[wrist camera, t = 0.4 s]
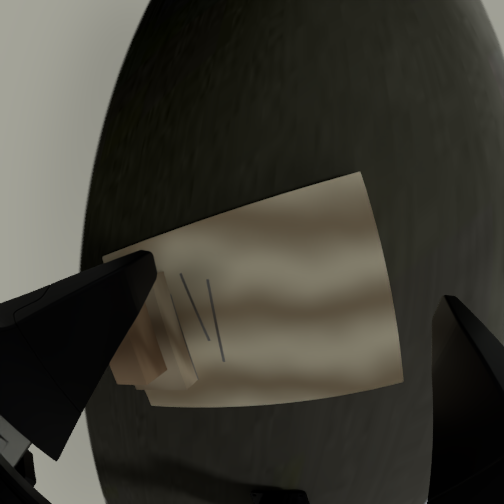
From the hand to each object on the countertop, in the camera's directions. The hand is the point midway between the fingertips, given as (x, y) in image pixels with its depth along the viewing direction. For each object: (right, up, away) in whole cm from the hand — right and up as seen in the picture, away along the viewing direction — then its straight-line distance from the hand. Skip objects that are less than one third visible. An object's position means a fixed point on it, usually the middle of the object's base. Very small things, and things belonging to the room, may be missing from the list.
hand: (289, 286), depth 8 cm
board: (-2, -4, +16) cm, 17 cm away
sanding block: (-10, -6, +17) cm, 21 cm away
